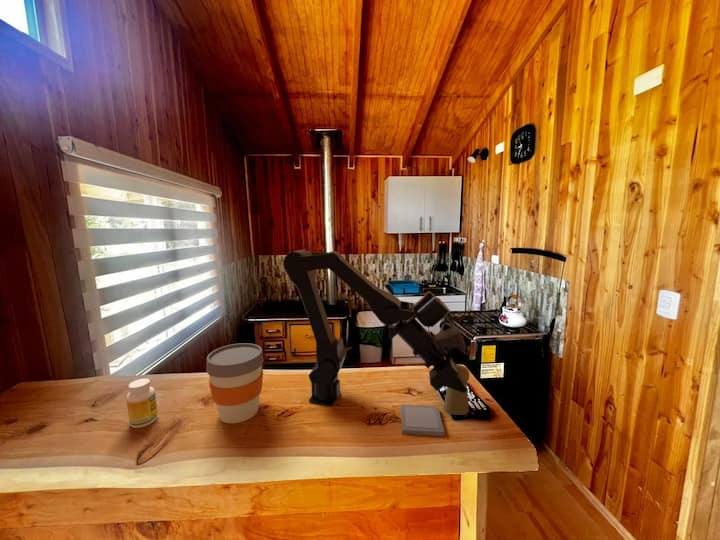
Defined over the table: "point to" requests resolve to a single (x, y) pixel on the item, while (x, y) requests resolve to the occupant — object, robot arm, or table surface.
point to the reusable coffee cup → (236, 380)
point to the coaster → (421, 420)
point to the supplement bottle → (141, 403)
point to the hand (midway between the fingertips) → (463, 384)
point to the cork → (458, 395)
